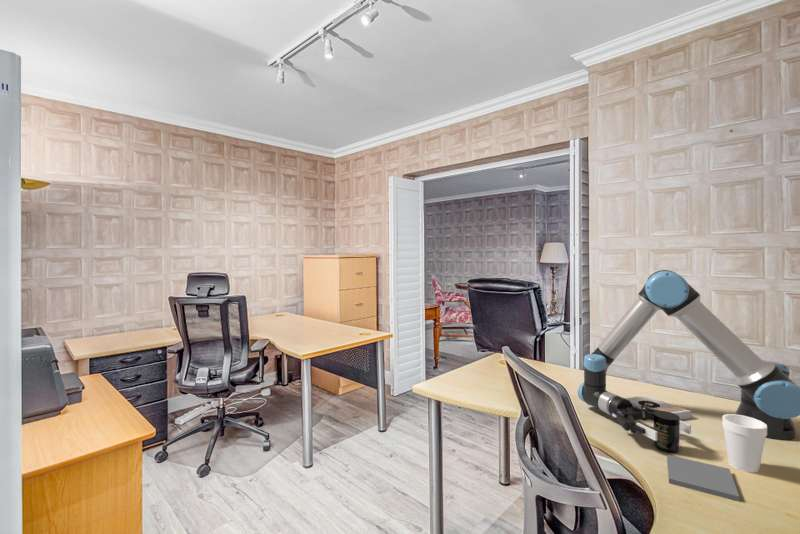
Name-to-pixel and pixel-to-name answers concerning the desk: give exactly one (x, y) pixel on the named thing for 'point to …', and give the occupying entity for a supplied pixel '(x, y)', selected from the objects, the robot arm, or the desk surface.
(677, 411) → the record player
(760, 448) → the foam cup
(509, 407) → the desk surface
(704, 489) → the mat
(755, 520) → the desk surface
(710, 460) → the desk surface
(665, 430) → the supplement container
